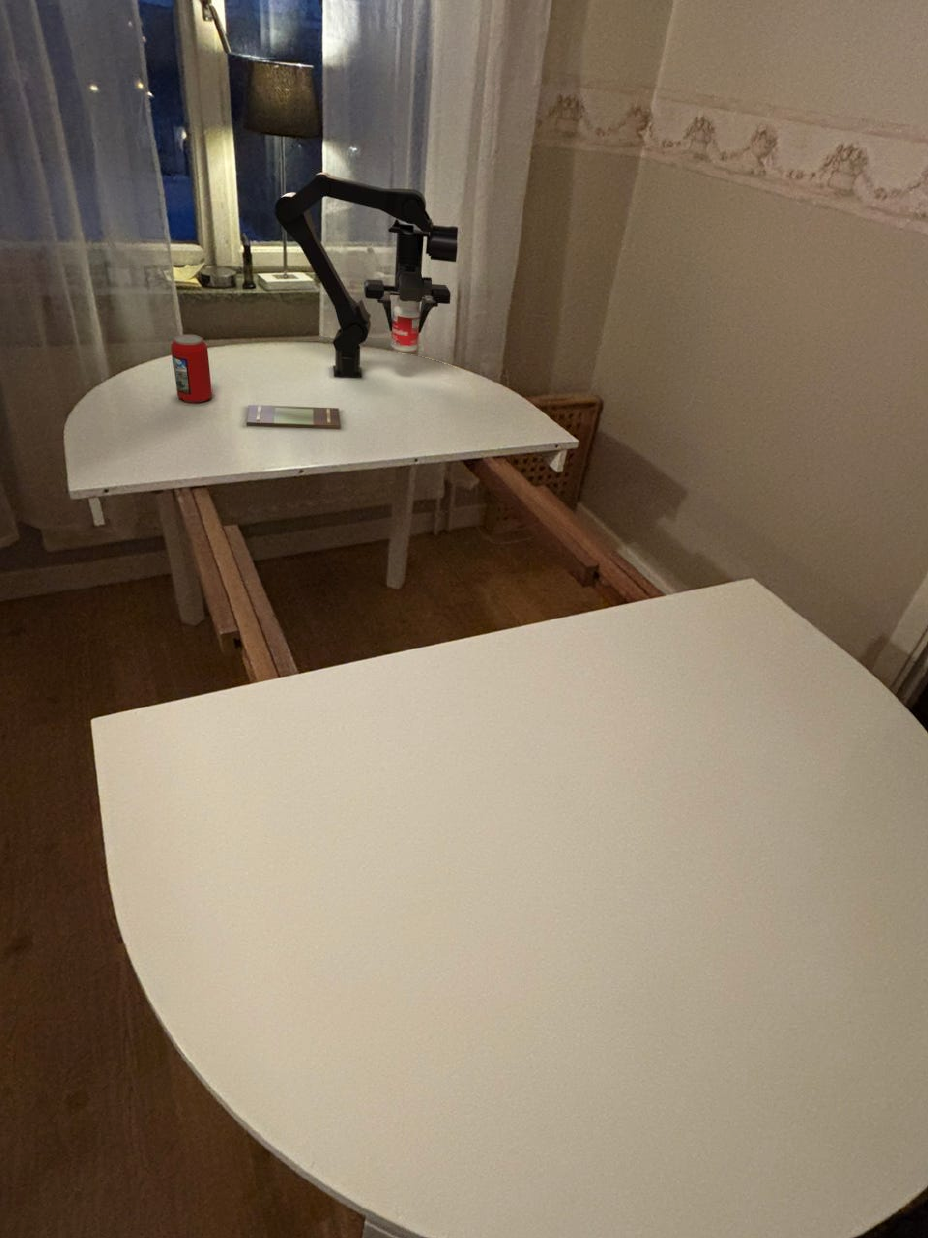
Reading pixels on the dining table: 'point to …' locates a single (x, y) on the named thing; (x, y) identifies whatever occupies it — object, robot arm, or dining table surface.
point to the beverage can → (191, 368)
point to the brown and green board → (293, 417)
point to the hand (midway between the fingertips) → (405, 331)
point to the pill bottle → (405, 326)
